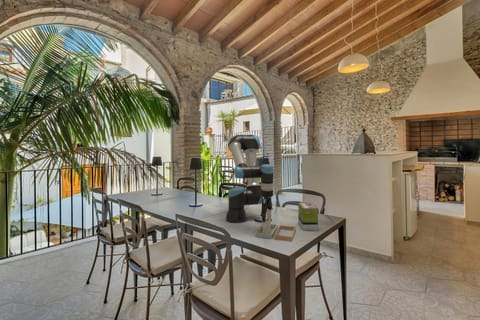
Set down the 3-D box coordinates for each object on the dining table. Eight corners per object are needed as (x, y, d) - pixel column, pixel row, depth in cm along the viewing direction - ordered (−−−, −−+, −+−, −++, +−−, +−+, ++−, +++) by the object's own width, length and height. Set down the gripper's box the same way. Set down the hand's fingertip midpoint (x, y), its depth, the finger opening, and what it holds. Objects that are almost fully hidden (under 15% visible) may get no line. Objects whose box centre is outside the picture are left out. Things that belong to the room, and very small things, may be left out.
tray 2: (274, 239, 142) (274, 234, 142) (279, 228, 159) (279, 225, 159) (291, 241, 139) (291, 236, 139) (295, 230, 156) (295, 226, 155)
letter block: (262, 233, 152) (262, 220, 151) (264, 231, 155) (264, 218, 155) (269, 233, 150) (269, 220, 150) (270, 231, 154) (270, 218, 153)
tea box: (297, 222, 171) (297, 201, 171) (312, 222, 171) (312, 202, 170) (302, 230, 156) (302, 207, 156) (318, 230, 156) (318, 207, 155)
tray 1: (255, 236, 146) (255, 232, 146) (262, 226, 163) (262, 223, 163) (271, 238, 143) (271, 234, 142) (277, 228, 160) (277, 224, 159)
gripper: (268, 194, 138) (268, 231, 140) (277, 186, 161) (276, 217, 163) (255, 193, 141) (255, 229, 142) (265, 185, 164) (265, 216, 166)
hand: (266, 223), depth 153 cm, fingers open, 13 cm apart
